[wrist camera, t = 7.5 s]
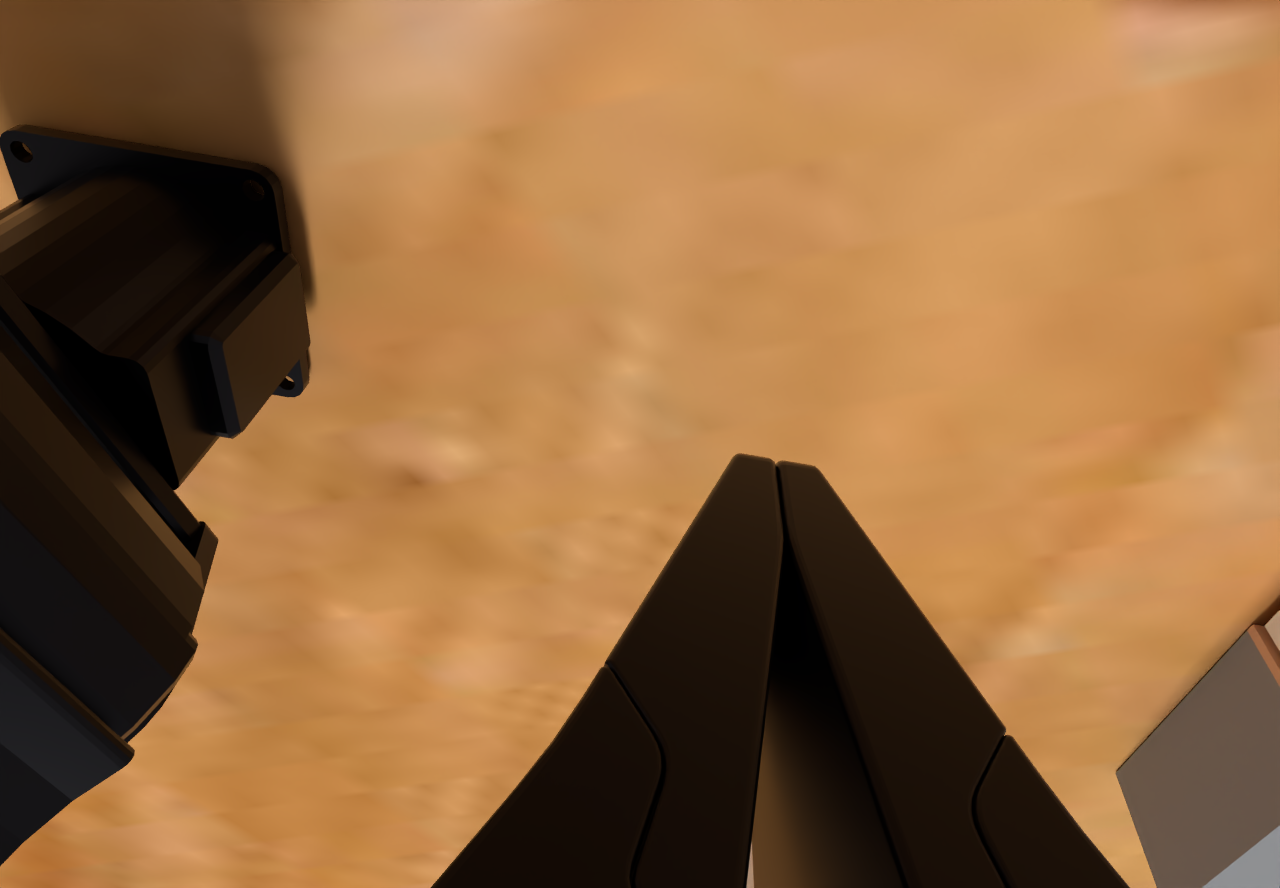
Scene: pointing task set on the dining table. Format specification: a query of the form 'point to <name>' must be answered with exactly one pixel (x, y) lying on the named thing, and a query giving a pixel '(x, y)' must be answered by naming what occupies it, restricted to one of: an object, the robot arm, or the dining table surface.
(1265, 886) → the grey blocks
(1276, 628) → the peg block
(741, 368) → the dining table surface
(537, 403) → the dining table surface
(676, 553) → the robot arm
